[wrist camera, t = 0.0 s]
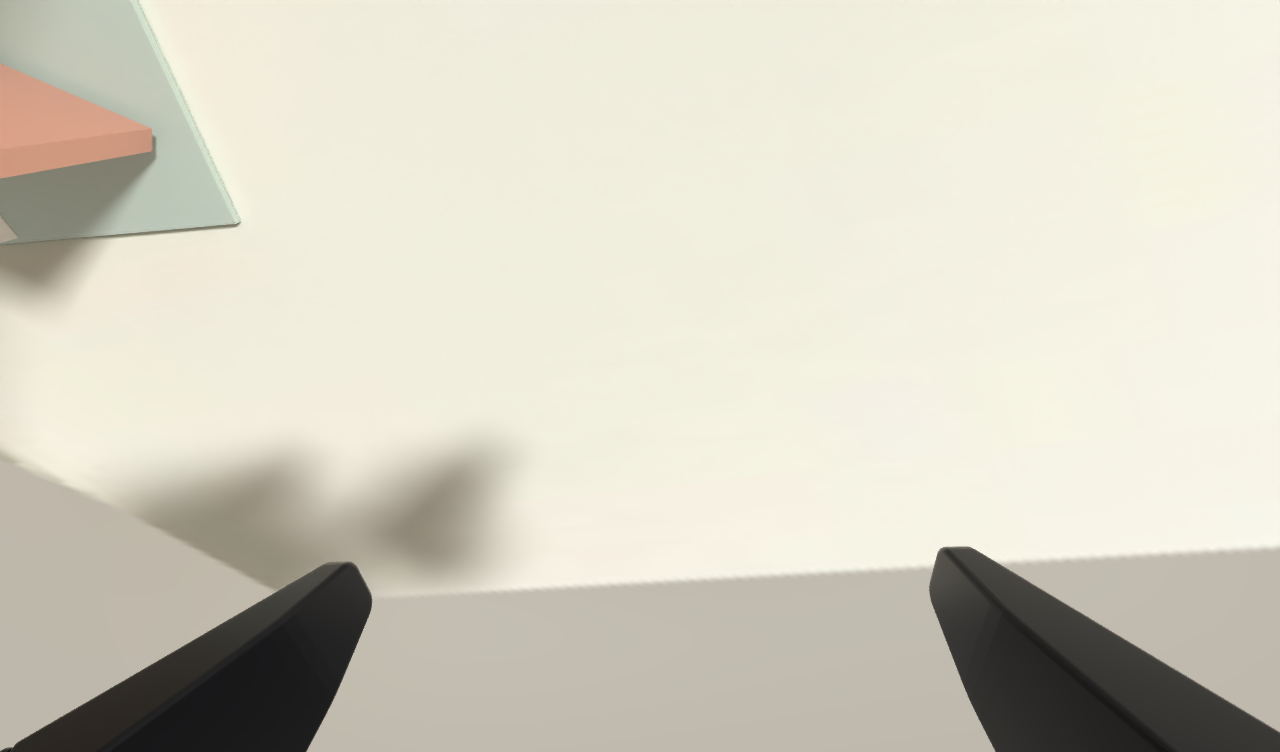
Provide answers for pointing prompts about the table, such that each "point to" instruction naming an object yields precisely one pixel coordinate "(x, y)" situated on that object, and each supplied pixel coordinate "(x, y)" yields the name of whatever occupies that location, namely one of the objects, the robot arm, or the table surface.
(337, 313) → the table surface
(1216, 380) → the table surface
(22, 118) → the swing panel
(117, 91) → the mat
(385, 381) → the table surface
